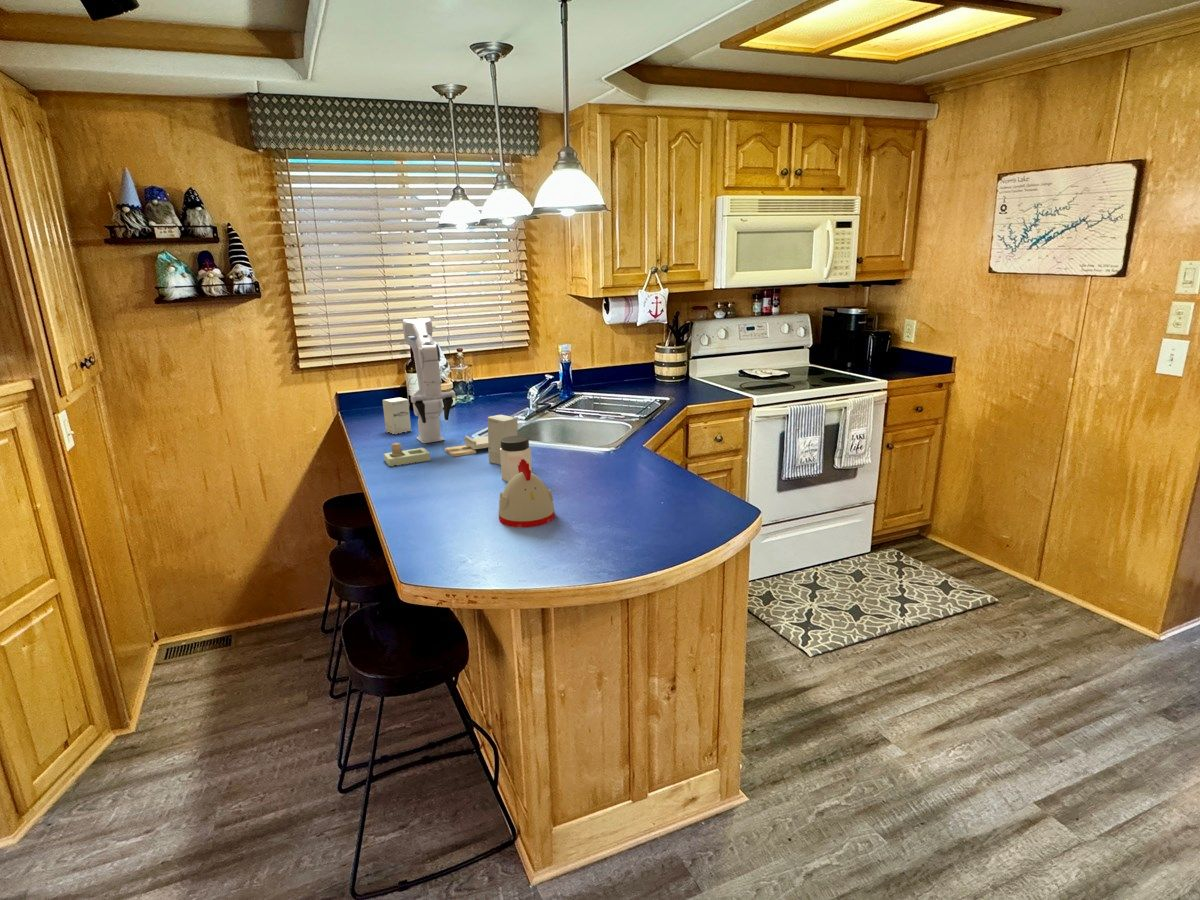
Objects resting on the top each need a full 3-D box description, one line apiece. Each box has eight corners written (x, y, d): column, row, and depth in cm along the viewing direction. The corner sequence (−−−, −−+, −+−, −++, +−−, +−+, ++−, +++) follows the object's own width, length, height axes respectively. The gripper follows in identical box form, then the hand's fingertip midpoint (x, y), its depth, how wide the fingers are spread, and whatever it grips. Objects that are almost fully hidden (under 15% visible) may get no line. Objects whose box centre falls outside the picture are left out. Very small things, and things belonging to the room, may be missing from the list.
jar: (512, 472, 211) (509, 434, 208) (536, 475, 208) (534, 436, 205) (497, 481, 203) (494, 442, 200) (522, 484, 200) (519, 444, 197)
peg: (392, 461, 226) (390, 443, 225) (401, 460, 228) (400, 442, 226) (394, 463, 224) (392, 445, 222) (403, 462, 225) (401, 444, 223)
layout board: (445, 450, 237) (444, 447, 237) (467, 447, 241) (467, 444, 241) (453, 456, 230) (452, 453, 229) (476, 453, 233) (476, 449, 233)
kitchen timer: (507, 531, 166) (503, 471, 162) (492, 513, 178) (488, 457, 174) (562, 521, 171) (560, 463, 167) (544, 504, 183) (541, 449, 179)
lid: (465, 443, 240) (464, 436, 239) (487, 440, 244) (486, 432, 243) (473, 449, 232) (473, 441, 232) (496, 446, 236) (495, 438, 235)
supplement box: (393, 435, 261) (390, 402, 257) (385, 431, 266) (381, 399, 263) (412, 431, 265) (408, 399, 262) (403, 428, 271) (399, 396, 267)
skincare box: (488, 462, 222) (485, 417, 218) (502, 458, 227) (499, 413, 223) (506, 466, 217) (503, 420, 213) (520, 462, 222) (517, 416, 218)
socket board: (384, 460, 227) (383, 453, 227) (423, 454, 233) (423, 447, 233) (389, 466, 221) (389, 459, 220) (430, 460, 227) (429, 453, 226)
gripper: (413, 385, 224) (417, 426, 228) (456, 380, 231) (459, 420, 235) (407, 382, 230) (411, 422, 234) (450, 377, 237) (453, 416, 241)
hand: (435, 421), depth 235 cm, fingers open, 7 cm apart
